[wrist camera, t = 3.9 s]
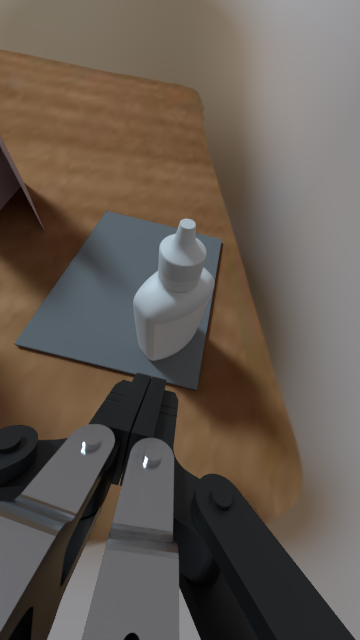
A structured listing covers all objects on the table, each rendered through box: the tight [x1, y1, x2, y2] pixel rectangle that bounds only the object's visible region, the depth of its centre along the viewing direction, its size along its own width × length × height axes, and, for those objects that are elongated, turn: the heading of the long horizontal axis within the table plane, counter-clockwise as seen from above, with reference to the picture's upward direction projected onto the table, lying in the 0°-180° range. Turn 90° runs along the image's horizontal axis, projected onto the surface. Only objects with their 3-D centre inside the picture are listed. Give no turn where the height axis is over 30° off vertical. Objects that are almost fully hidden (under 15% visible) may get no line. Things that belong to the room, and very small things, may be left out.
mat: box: [14, 211, 222, 390], centre depth 22 cm, size 16×20×1 cm
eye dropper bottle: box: [133, 219, 215, 361], centre depth 14 cm, size 4×6×12 cm
